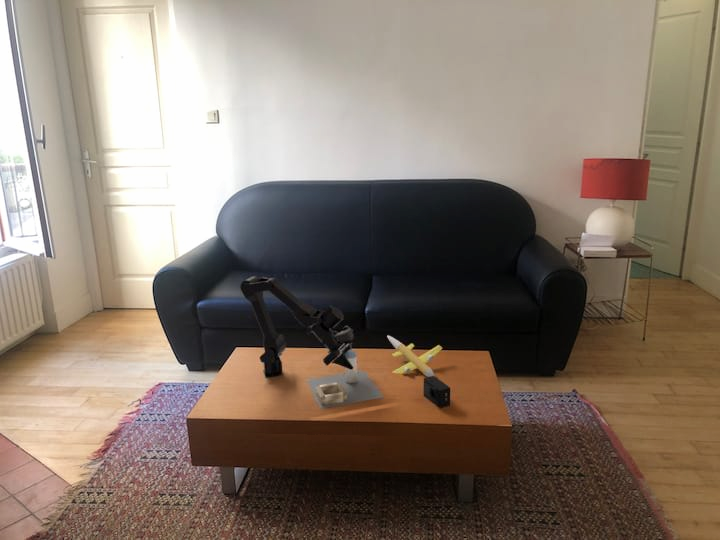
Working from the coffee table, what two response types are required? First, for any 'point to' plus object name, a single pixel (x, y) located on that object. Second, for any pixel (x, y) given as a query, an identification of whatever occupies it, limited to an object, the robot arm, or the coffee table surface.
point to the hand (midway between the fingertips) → (354, 366)
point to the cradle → (331, 397)
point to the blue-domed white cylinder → (352, 358)
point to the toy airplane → (413, 358)
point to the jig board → (348, 388)
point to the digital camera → (437, 391)
